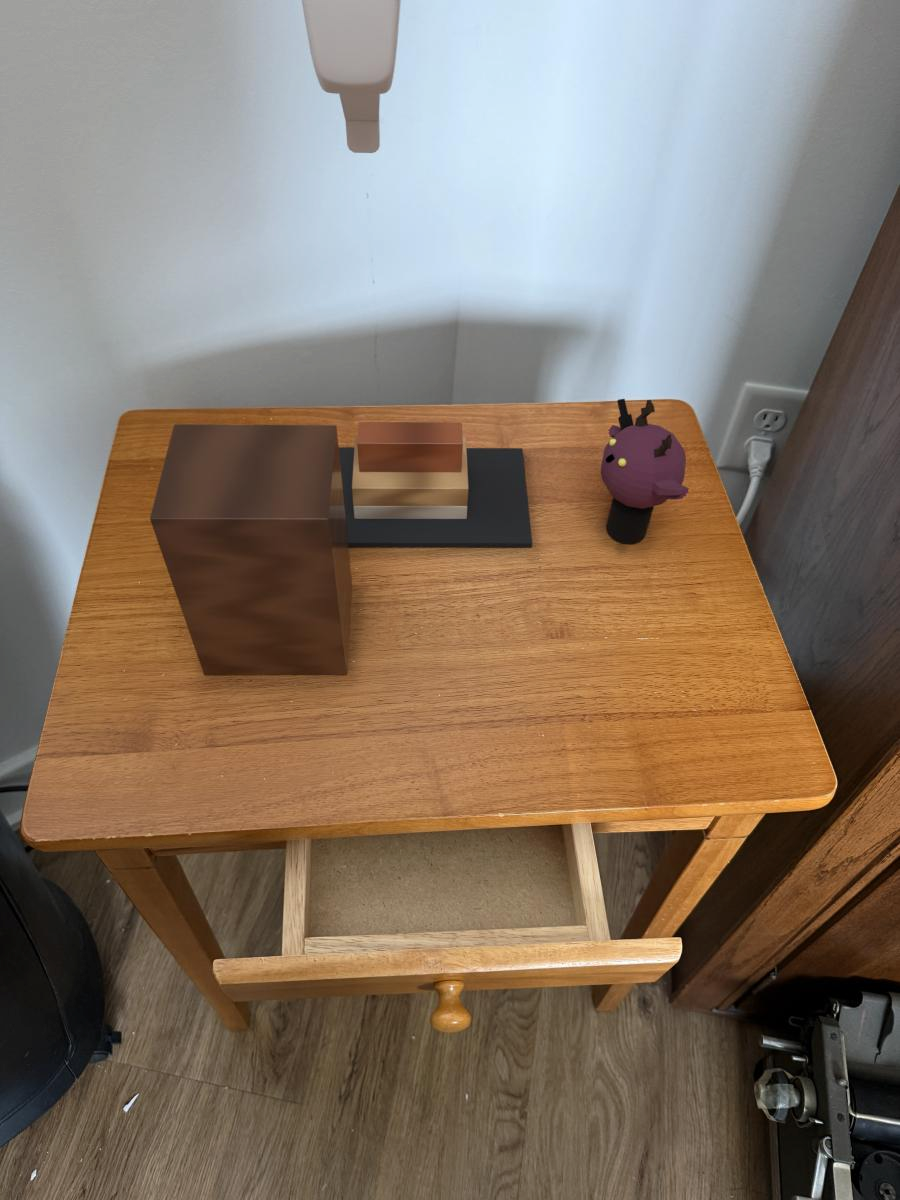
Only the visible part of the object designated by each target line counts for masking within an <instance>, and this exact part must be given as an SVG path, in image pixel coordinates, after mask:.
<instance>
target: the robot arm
mask: <svg viewBox="0 0 900 1200" xmlns="http://www.w3.org/2000/svg"><path fill="white" fill-rule="evenodd" d="M401 2H402V0H301V4H302V10H303V16H304V22H305V29H306V34H307V40H308V45H309V51H310V56H311V61H312V65H313V69H314V73H315V75H316V78H317V81H318V84H319V86H320V88H321V90H323V91H324V92H326V93H329V94H334V95H335V94H337V95H339V100H340V103H341V107H342V112H343V116H344V121H345V133H346V146H347V148H348V149H349V151H351V152H352V153H355V154H374V153H376V152H378V151H379V149H380V145H381V144H380V143H381V140H380V139H381V129H380V128H381V125H380V105H381V104H380V103H381V102H380V101H381V95H384V94H386V93H388V92H389V91H390V90H391V87H392V85H393V82H394V76H395V68H396V60H397V52H398V51H397V50H398V41H399V26H400V18H401V17H400V15H401V4H402V3H401Z"/></svg>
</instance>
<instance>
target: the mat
mask: <svg viewBox="0 0 900 1200" xmlns="http://www.w3.org/2000/svg"><path fill="white" fill-rule="evenodd" d="M354 448H355V446H354V447H353V446H351V447H350V446H339V456H340V466H341V476H342V487H343V497H344V507H345V518H346V528H347V538H348V548H484V549H485V548H491V549H493V548H494V549H495V548H496V549H497V548H502V549H503V548H508V549H509V548H517V549H519V548H522V549H523V548H524V549H525V548H532V547H533V539H532V538H533V537H532V528H531V517H530V509H529V500H528V489H527V478H526V469H525V459H524V452H523V448H522V447H466V448H467V468H468V505H467V518H466V519H355V518H354V507H353V506H354V505H353V495H352V479H353V463H354Z"/></svg>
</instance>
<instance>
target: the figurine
mask: <svg viewBox="0 0 900 1200" xmlns="http://www.w3.org/2000/svg"><path fill="white" fill-rule="evenodd" d="M616 403H617V406H618V411H619V417H618V419H617V420H618V424H619V426H618V425H615V424H612V425H611V426H610V427H609V429H608V434H609V435H608V436H609V437H610V438H611V439H610V440H608V442H607V444H605V447H604V451H603V454H602V460H601V466H600V476H601V479H602V482H603V483H604V485H605V487H606V489H607V491H608V492H609V494H610V496H611V497H612V500H611V504H610V508H609V513H608V517H607V520H606V524H605V525H606V526H605V529H606V533H607V535H608V536H609V538H611V539H612V540H613V541H615V542H616V543H619V544H622V545H635V544H638V543H640V542H642V541H643V540H644V539H645V538H646V536H647V531H648V528H649V525H650V522H651V518H652V515H653V511H654V507H657V506H660V505H662V504H664V503H665V502H666V501H668V500H682V499H684V497H687V494H689V489H690V488H689V487H687V486H685V485H683V482H684V480H685V474H686V464H687V457H686V451H685V449H684V447H683V446H682V444H681V443H680V441H679V440H678V439H677V437H676V436H675V434H674V433H673V432H671V431H669V430H668V429H666V428H664V427H662V426H661V425H658V424H651V423H648V418H647V417H648V416H649V415H650V414H652V413H655V412H656V411H655V405H654V403H653V402H652V400H651V399H647V400H646V403H645V407H641V408H640V414H639V416H637V417H636V418H635V421H634V420H633V415H632V413H630V414H629V412H628V408H627V403H626V399H625V398H620V399H617V401H616Z"/></svg>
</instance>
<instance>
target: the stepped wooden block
mask: <svg viewBox="0 0 900 1200" xmlns="http://www.w3.org/2000/svg"><path fill="white" fill-rule="evenodd" d="M354 447H355V448H354V463H353V479H352V495H353V505H354V506H353V507H354V518H355V519H466V518H467V505H468V468H467V448H468V447H467V436H463V423H462V422H461V421H459V422H457V421H453V422H452V421H451V422H450V421H358V424H357V435H355V436H354Z"/></svg>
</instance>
